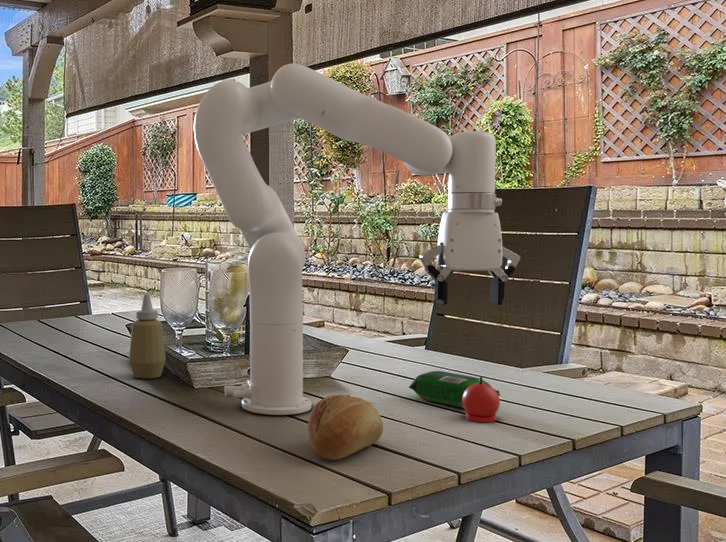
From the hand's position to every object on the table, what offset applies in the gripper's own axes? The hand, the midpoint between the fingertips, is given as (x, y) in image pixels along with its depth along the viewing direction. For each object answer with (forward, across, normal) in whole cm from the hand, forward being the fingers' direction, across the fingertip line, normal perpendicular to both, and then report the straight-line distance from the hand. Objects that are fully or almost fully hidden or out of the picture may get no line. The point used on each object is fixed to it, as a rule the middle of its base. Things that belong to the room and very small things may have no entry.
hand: (468, 304), depth 129 cm
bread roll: (+20, +26, +18) cm, 38 cm away
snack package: (+20, -1, -9) cm, 22 cm away
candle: (+19, -2, +2) cm, 20 cm away
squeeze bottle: (+21, +55, -39) cm, 70 cm away
